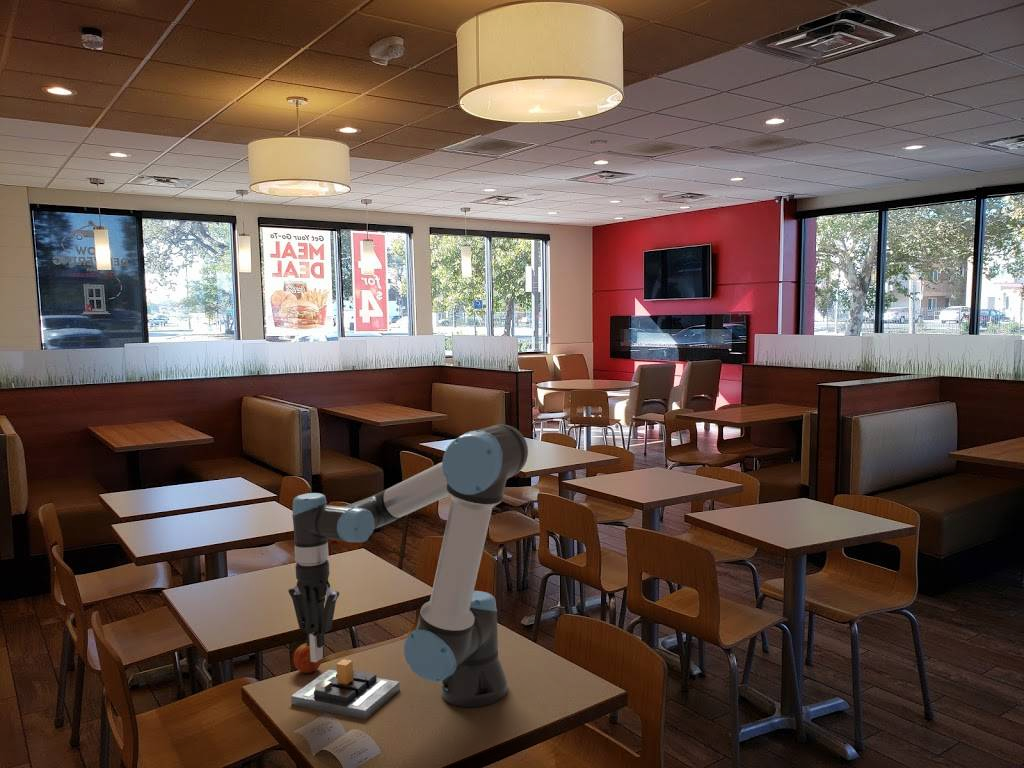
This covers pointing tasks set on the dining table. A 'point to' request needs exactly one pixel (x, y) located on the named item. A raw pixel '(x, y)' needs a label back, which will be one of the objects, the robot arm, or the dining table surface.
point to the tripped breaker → (345, 671)
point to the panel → (346, 707)
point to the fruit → (305, 659)
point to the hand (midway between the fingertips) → (316, 659)
